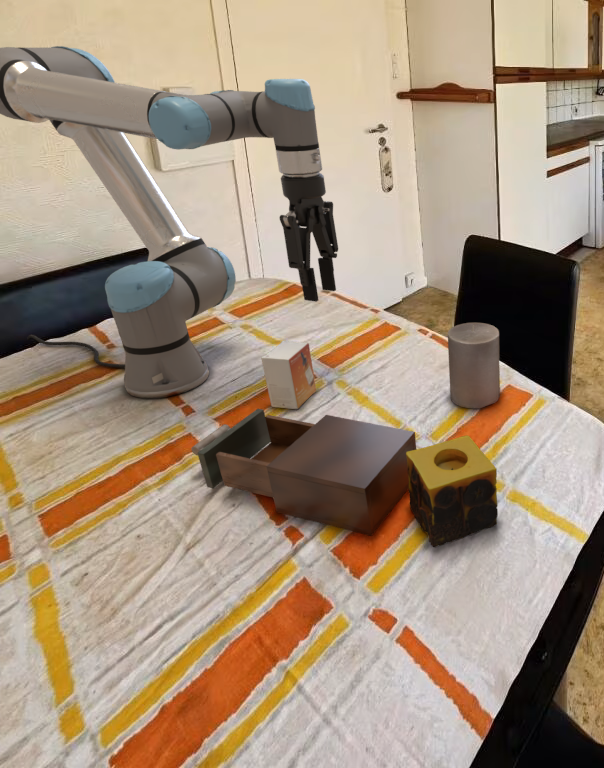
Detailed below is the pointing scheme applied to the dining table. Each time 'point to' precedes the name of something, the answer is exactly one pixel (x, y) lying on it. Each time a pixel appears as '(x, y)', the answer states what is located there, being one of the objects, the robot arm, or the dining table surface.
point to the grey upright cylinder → (474, 364)
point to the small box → (289, 374)
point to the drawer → (247, 451)
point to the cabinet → (343, 474)
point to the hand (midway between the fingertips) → (320, 294)
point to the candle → (452, 490)
